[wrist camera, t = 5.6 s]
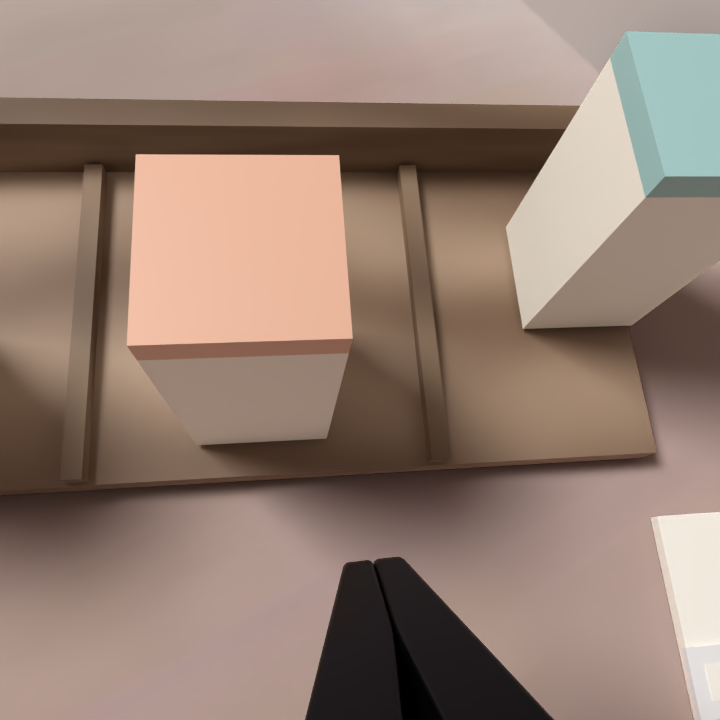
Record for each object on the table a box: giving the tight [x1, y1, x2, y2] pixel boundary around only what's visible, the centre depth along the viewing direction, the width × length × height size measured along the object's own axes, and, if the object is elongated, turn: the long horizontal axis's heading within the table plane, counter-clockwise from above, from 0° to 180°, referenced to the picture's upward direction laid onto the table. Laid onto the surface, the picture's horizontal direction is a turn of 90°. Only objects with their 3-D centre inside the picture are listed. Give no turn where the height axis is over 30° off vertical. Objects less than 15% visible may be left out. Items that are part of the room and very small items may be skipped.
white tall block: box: [506, 32, 720, 329], centre depth 19 cm, size 4×4×9 cm
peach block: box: [127, 154, 353, 445], centre depth 16 cm, size 4×4×9 cm
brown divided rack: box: [0, 98, 657, 495], centre depth 21 cm, size 12×26×4 cm, turn 94°
